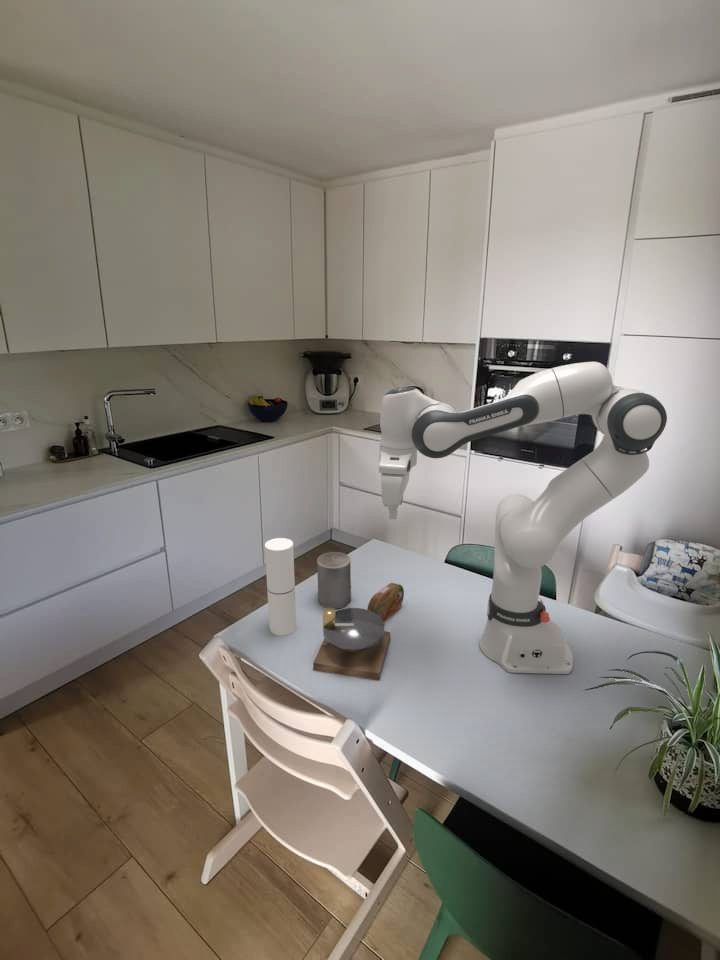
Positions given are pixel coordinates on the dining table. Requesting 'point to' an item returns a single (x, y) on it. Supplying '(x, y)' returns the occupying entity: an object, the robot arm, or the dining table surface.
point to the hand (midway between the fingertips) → (396, 510)
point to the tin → (387, 601)
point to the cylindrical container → (280, 586)
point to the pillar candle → (334, 580)
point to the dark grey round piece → (352, 629)
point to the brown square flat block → (353, 660)
